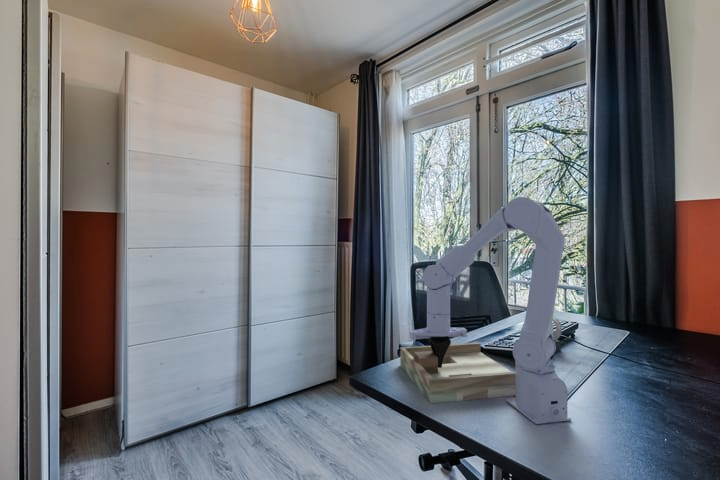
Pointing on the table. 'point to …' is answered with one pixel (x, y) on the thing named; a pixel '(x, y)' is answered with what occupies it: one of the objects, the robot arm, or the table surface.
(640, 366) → the table surface
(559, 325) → the watch
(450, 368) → the board
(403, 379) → the table surface
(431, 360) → the block
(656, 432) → the table surface
